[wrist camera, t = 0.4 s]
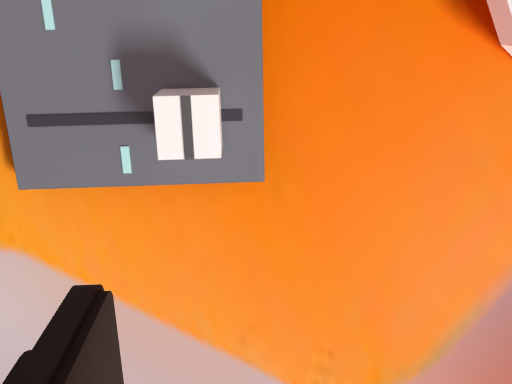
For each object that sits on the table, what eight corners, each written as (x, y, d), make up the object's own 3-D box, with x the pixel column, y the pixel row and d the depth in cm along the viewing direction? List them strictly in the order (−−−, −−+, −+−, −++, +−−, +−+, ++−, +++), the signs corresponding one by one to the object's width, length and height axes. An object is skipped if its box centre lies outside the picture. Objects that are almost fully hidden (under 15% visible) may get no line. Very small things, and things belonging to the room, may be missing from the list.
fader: (161, 89, 33) (152, 96, 29) (219, 87, 33) (218, 94, 29) (166, 145, 34) (158, 160, 30) (222, 144, 34) (221, 158, 31)
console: (-24, -118, 31) (-42, -129, 29) (257, -121, 31) (259, -131, 29) (29, 181, 37) (18, 190, 35) (262, 173, 38) (264, 181, 36)
